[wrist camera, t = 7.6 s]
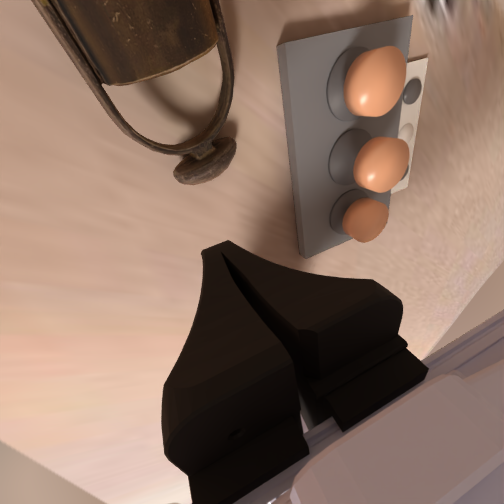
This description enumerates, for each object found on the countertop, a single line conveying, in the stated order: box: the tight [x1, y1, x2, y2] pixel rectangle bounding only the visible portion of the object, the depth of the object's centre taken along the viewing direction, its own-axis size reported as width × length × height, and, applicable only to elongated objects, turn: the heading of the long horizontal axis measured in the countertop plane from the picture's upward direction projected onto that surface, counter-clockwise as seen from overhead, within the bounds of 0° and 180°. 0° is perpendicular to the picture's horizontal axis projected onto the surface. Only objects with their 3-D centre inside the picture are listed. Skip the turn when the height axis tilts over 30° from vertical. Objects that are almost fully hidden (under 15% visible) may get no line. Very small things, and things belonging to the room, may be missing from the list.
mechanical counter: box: [31, 0, 236, 185], centre depth 13 cm, size 7×13×10 cm
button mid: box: [353, 136, 410, 193], centre depth 20 cm, size 4×4×3 cm
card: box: [391, 58, 428, 194], centre depth 25 cm, size 12×3×1 cm, turn 12°
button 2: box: [344, 46, 406, 117], centre depth 18 cm, size 4×4×3 cm
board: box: [277, 15, 413, 259], centre depth 23 cm, size 18×11×2 cm, turn 12°
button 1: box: [342, 197, 389, 243], centre depth 24 cm, size 4×4×3 cm
